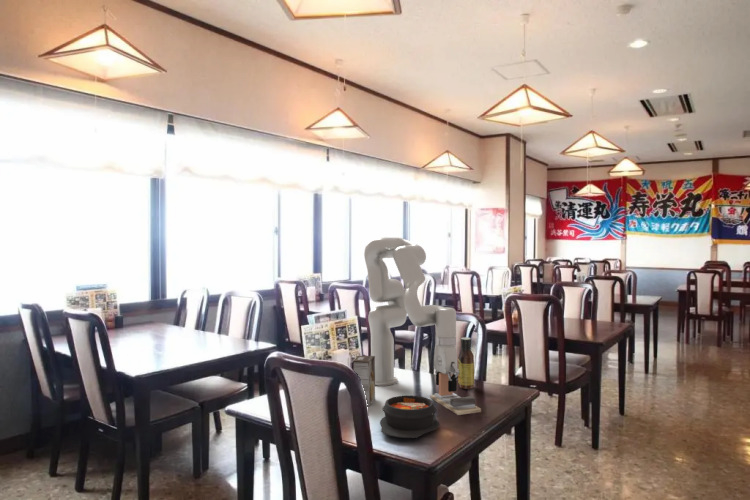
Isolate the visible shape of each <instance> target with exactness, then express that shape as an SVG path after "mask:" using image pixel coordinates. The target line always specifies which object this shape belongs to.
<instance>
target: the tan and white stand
mask: <svg viewBox="0 0 750 500" xmlns="http://www.w3.org/2000/svg"><path fill="white" fill-rule="evenodd" d="M452 375H453V374H451V377H452ZM448 381H449V377H448V374H443V373H439V385H438V392H437V393H434V394H433V395H434V396H436V397H437V398H439V399H441V398H443V397H451V396H459V395H458V394H456V393H454V391H453V392H449V391H448Z"/></svg>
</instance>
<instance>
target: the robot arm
mask: <svg viewBox="0 0 750 500" xmlns="http://www.w3.org/2000/svg"><path fill="white" fill-rule="evenodd" d="M363 255H364V262H365V265H366V269H367V279H368V281H367V282H368V290H369V292H368V293H369V297H370V299H371V301H372V302H374V303H378V304H379V303H387V304H385V305H378V306H375V307H372V309H370V311H369V312H368V317H367V320H368V325H369V331H370V356H375V386H378V387H379V386H380V387H381V386H384V387H385V386H391V385H392V386H393V385H395V384H397V383H398V382H399V380H398V377H396V376H395V361H394V360H395V343H394V339H395V338H394V336H393V333H392V331H391V328H396V327H401V326H403V325H404V324H405V323H406V321H407V318H409V320H410V322H411V323H412V325H414V326H415V327H419V328H422V327H429V326H434V325H435V345H434V351H433V352H434V353H433V368H434V370H435V385H436V386H439V373H443V374H448V377H449V381H448V391H449V392H453V393H454V392H457V389H458V388H457V386H458V385H457V384H458V383H457V382H458V374H459V370H458V354H457V347H456V346H457V311H456V309H455V308H453V307H447V306H446V307H445V306H444V307H443V306H440V305H436V304H431V305H423V306H422V305H421V302H420V300H419V298H418V289H419V287H420V286H421V285H423V283H425V281H426V276H425V274H424V271H423V269H422V267H421V266H422V265H423V264H424V263H425V262H426V260H427V253H426V251H425V249H424V248H423V247H422V246H420V245H419V244H418V243H417V244H416V243H414V242H412V241H410V240H408V239H404V238H402V237H387V236H385V237H375V238H372V239H370V240H369V241H368V242H367V244H366V245H365V248H364V253H363ZM390 258H392V259H393V260H394V262H395V263H394V264H395V265H396V268H397V269H398V272H399V274H400V277H401V279H402V282H403V284H404V286H403V284H402V282H401V281H400V280H399V279H396V278H389V270H388V269H389V268H388V267H387V264H386V262H385V261H384V260H383V259H390ZM451 374H453V375H452V377H451Z"/></svg>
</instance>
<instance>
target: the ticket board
mask: <svg viewBox="0 0 750 500" xmlns="http://www.w3.org/2000/svg"><path fill="white" fill-rule="evenodd" d="M430 400H432V401H434V402H437V403H438V404H439V405H441V406H442V407H444V408H446V409H447V410H450V411H451V412H453V413H454V414H455V415H457V416H461V415H467V414H476V413H482V408H481V407H479V406H477V405H476V397H474V396H472V395H469V396H462V397H461V396H459V395H458V396H451V397H443V398H441V399H439V398H437V397H436V396H434V394H431V395H430Z"/></svg>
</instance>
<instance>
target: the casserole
mask: <svg viewBox="0 0 750 500" xmlns="http://www.w3.org/2000/svg"><path fill="white" fill-rule="evenodd" d="M433 401H434V400H433V399H431V398H427V397H426V396H419V395H408V394H407V395H398V396H397V395H396V396H392V397H390V398H387V400H386V401H385V403H384V405H383V406H382V412H383V413H384V416H383V417H382V418H381V419H380V420H379V425H380V427H381V431H380V432H381V433H382V434H383V435H386V436H389V437H393V438H398V439H400V438H401V439H416V438H420V437H421V436H423V435H425V434H427V433H430V432H432V431H435V430H436V429H438V428H439V427H440V422H439V420H438V419H437V416H436V413H437V407H436V406H435V404H434V402H433Z"/></svg>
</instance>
